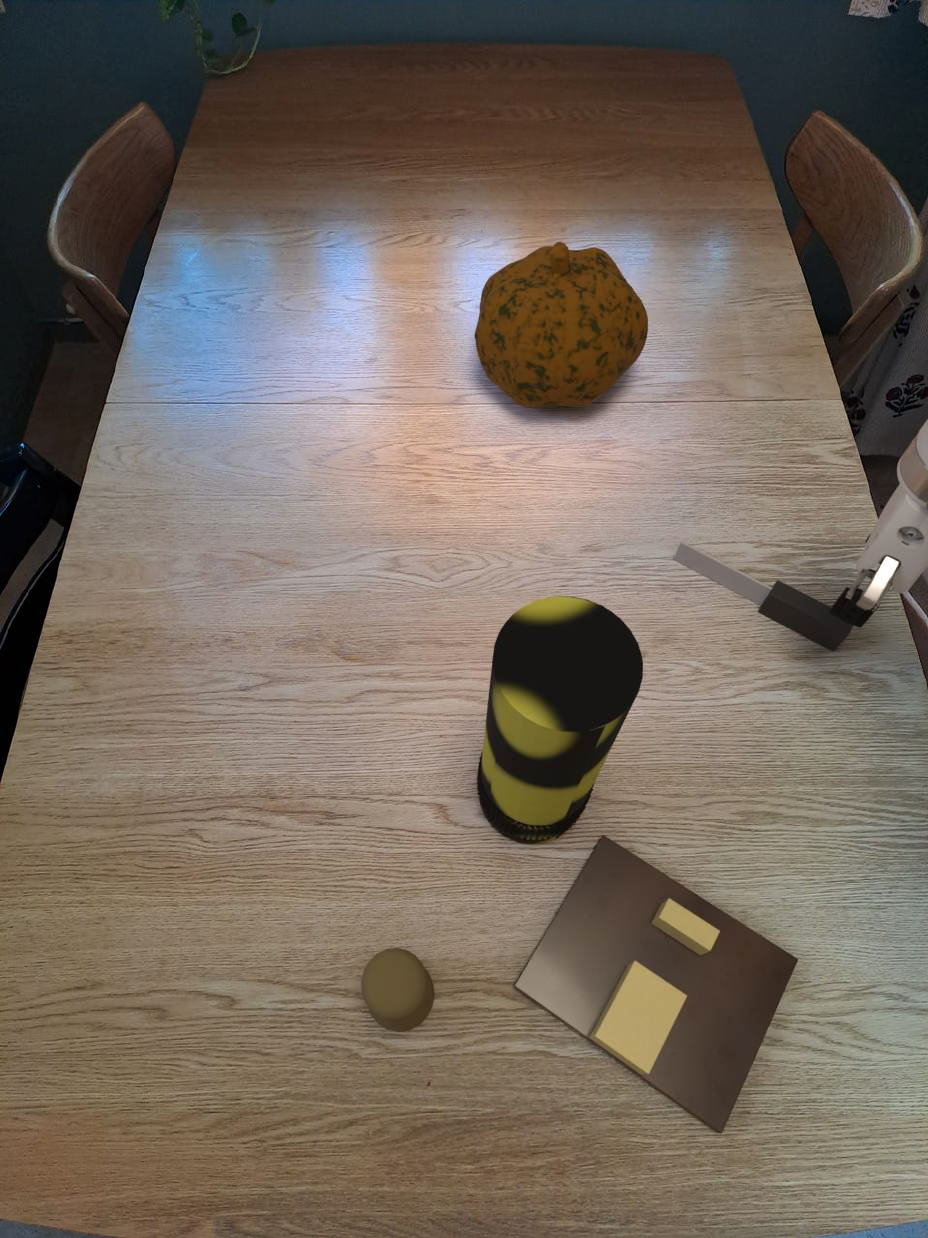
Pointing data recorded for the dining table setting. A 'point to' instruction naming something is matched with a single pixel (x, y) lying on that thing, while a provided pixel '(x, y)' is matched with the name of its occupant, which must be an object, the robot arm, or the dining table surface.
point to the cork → (397, 990)
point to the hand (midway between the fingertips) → (863, 582)
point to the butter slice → (685, 927)
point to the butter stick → (638, 1017)
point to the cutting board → (714, 982)
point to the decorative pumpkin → (559, 327)
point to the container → (553, 713)
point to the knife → (772, 599)
